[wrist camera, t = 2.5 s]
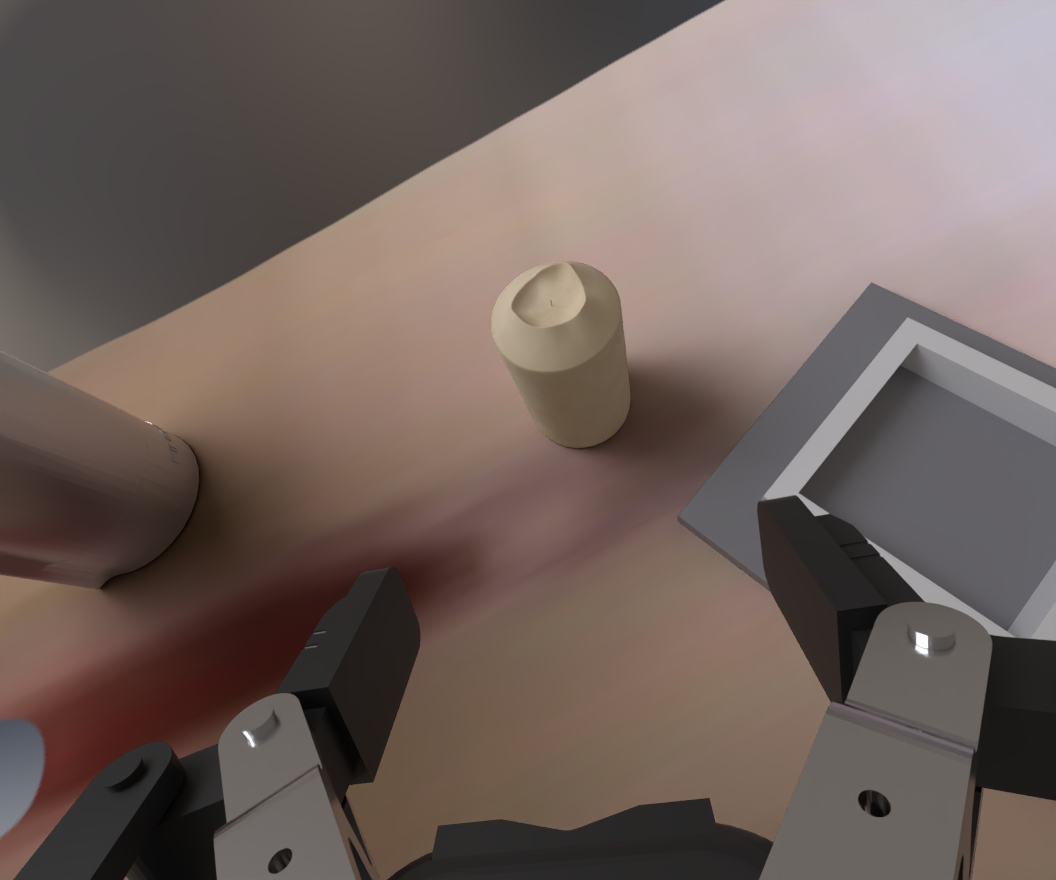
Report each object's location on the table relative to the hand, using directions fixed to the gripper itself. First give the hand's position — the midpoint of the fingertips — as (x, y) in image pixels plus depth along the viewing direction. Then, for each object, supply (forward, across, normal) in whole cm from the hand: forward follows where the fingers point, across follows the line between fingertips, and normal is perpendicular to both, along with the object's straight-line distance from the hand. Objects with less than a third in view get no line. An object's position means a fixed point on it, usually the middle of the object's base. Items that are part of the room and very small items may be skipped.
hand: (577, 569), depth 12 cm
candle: (+19, 0, -2) cm, 20 cm away
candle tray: (+13, +15, -8) cm, 22 cm away
